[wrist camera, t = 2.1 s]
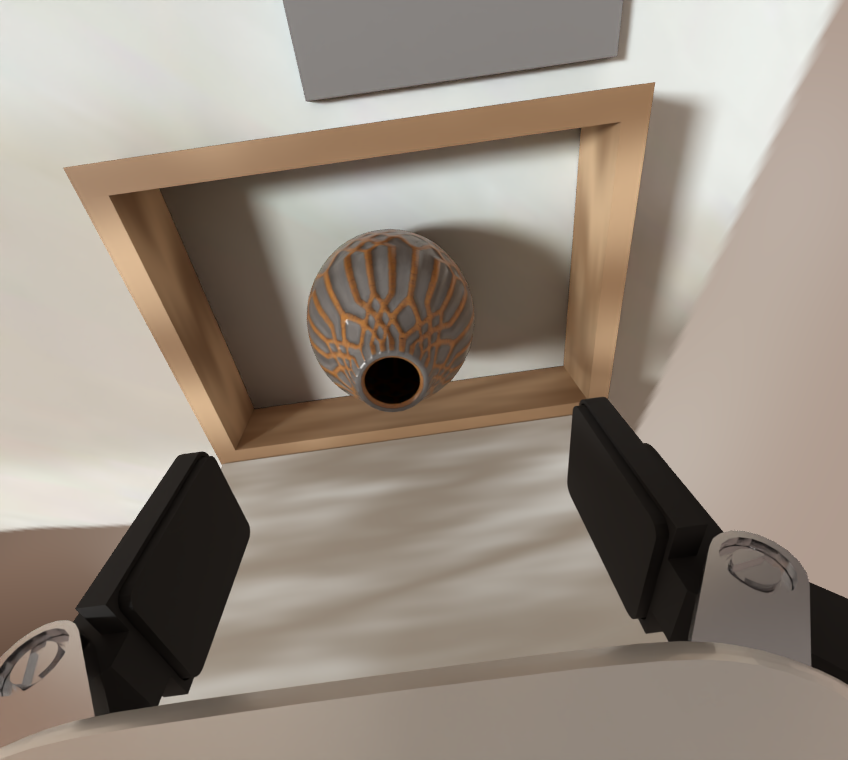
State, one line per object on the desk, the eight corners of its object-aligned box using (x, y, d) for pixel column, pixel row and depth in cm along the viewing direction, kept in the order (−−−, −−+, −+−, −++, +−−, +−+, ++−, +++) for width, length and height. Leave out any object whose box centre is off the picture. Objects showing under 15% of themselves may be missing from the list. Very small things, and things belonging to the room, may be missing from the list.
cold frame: (120, 159, 17) (-1516, 407, 2) (608, 88, 17) (2005, -101, 2) (271, 486, 27) (137, 902, 13) (572, 444, 27) (781, 815, 13)
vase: (479, 237, 19) (534, 310, 12) (437, 360, 23) (459, 475, 16) (333, 195, 18) (294, 249, 11) (311, 333, 22) (271, 446, 14)
